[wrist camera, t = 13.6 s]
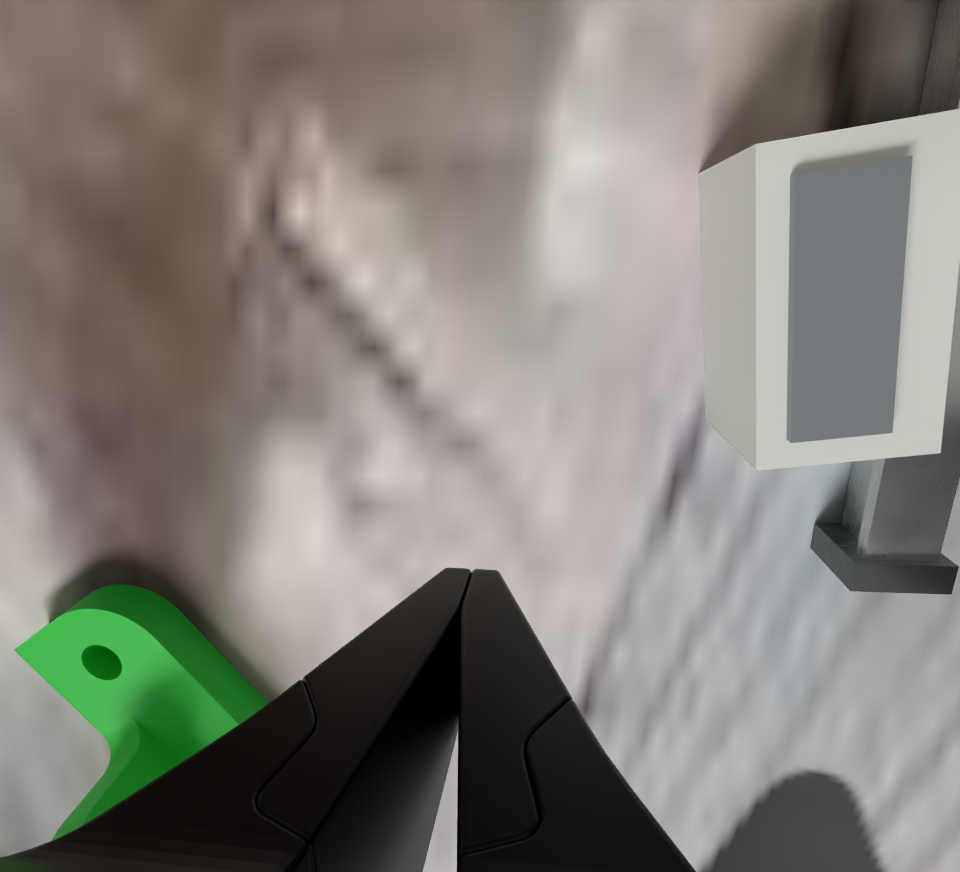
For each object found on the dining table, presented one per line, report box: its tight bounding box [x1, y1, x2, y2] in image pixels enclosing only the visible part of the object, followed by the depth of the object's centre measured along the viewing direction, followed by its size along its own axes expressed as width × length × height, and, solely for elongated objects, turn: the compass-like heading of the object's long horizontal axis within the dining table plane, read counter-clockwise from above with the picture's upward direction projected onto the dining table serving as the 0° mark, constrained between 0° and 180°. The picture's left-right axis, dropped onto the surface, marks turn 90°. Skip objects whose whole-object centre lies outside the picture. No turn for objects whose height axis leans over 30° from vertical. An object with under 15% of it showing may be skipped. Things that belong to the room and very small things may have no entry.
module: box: [698, 109, 960, 471], centre depth 16 cm, size 5×8×5 cm, turn 8°
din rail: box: [811, 0, 960, 594], centre depth 16 cm, size 3×18×3 cm, turn 1°
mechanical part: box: [15, 584, 268, 841], centre depth 22 cm, size 12×6×8 cm, turn 36°
